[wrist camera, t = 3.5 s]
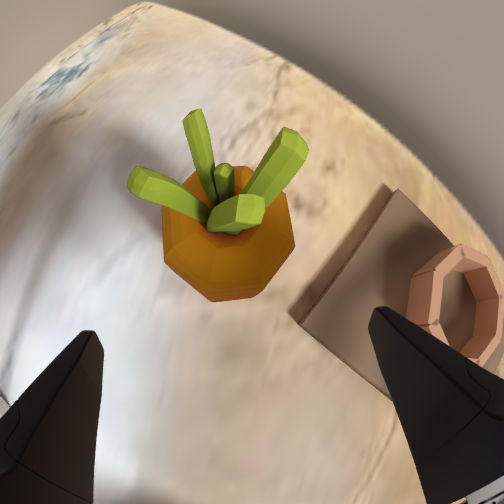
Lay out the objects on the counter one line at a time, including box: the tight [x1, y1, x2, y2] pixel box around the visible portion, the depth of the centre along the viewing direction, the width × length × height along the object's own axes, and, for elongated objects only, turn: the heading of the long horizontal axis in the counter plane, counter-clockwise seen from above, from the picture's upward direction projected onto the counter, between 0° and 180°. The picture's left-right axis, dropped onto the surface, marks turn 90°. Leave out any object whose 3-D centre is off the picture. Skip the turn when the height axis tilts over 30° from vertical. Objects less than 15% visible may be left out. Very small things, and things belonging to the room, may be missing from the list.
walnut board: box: [298, 189, 504, 400], centre depth 20 cm, size 20×14×1 cm
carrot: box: [127, 109, 309, 302], centre depth 13 cm, size 5×5×15 cm
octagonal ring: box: [406, 244, 504, 367], centre depth 18 cm, size 10×10×3 cm
